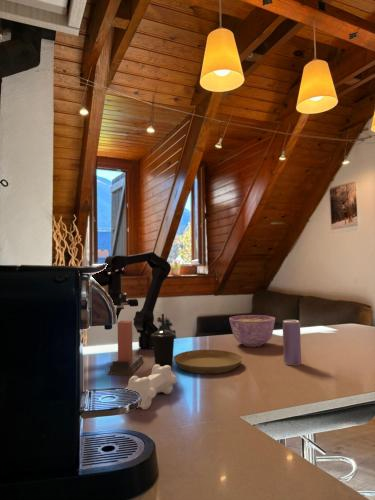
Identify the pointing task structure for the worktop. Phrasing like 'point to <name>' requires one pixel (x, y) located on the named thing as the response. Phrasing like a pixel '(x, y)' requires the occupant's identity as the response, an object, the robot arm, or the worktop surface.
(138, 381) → the bone shaped toy
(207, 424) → the worktop surface
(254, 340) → the bowl of food
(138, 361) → the press track
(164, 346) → the drinking cup
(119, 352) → the post
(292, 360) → the beverage can
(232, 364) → the plant saucer
